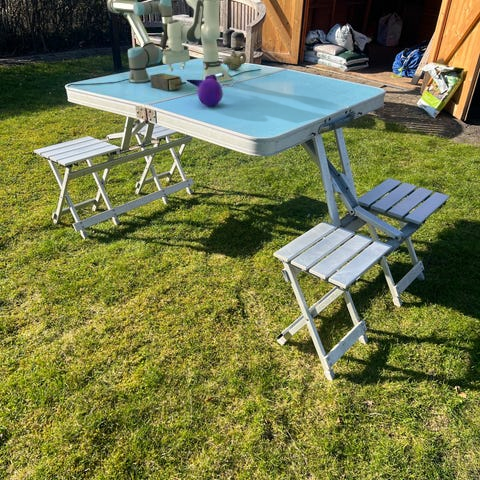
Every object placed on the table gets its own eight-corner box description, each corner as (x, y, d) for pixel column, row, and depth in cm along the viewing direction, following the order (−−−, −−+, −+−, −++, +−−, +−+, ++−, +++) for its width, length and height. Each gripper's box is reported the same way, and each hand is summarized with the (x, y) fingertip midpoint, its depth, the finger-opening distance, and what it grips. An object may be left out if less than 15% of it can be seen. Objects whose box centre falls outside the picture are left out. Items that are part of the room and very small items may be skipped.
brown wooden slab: (181, 88, 314) (180, 76, 309) (168, 91, 307) (167, 79, 303) (164, 84, 326) (163, 73, 322) (151, 87, 319) (150, 75, 315)
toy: (210, 97, 288) (222, 112, 267) (183, 92, 280) (194, 107, 260) (215, 72, 280) (229, 85, 259) (188, 67, 272) (200, 80, 252)
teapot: (226, 72, 363) (226, 52, 355) (220, 70, 372) (219, 50, 364) (249, 69, 372) (249, 50, 365) (242, 67, 381) (241, 48, 373)
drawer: (187, 88, 308) (186, 79, 305) (175, 91, 302) (174, 81, 299) (166, 84, 323) (165, 75, 320) (154, 86, 317) (153, 77, 314)
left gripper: (161, 25, 302) (164, 58, 313) (182, 22, 321) (184, 53, 332) (152, 25, 305) (156, 58, 316) (173, 21, 324) (175, 53, 335)
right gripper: (165, 49, 285) (167, 72, 292) (190, 46, 297) (191, 68, 304) (159, 48, 289) (161, 71, 296) (184, 45, 301) (185, 67, 308)
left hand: (170, 56), depth 324 cm, fingers open, 13 cm apart
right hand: (177, 70), depth 300 cm, fingers open, 8 cm apart
